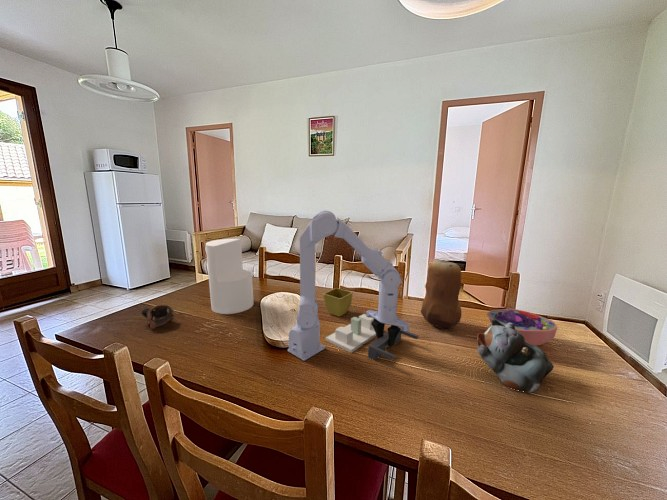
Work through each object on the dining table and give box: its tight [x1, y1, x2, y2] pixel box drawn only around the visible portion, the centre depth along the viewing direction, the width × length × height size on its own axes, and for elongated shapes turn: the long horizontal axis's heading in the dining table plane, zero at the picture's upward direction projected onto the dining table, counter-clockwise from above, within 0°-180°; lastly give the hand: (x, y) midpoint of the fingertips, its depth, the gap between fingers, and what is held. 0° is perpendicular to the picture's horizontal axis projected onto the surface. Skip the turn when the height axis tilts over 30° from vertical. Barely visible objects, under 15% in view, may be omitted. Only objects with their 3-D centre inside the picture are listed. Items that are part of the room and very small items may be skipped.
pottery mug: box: [141, 304, 175, 330], centre depth 104 cm, size 12×10×8 cm
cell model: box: [486, 308, 559, 347], centre depth 93 cm, size 17×20×11 cm
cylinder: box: [205, 238, 255, 315], centre depth 118 cm, size 17×17×28 cm
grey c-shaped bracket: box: [367, 329, 419, 361], centre depth 87 cm, size 16×8×4 cm, turn 138°
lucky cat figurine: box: [476, 320, 555, 394], centre depth 77 cm, size 17×14×16 cm
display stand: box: [325, 313, 377, 354], centre depth 97 cm, size 19×11×6 cm, turn 138°
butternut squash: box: [420, 259, 462, 329], centre depth 102 cm, size 14×13×25 cm
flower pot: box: [323, 287, 354, 317], centre depth 113 cm, size 9×9×9 cm
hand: (385, 343), depth 89 cm, fingers open, 3 cm apart
